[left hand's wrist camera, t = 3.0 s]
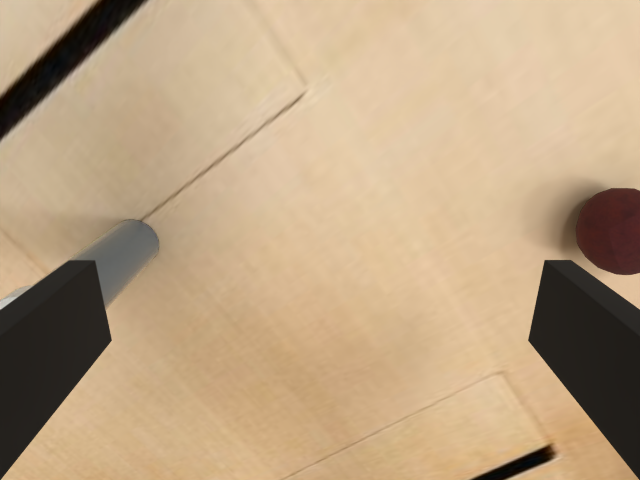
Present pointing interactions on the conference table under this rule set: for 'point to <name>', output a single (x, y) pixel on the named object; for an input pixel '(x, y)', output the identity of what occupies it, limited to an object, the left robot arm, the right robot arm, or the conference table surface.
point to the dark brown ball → (611, 230)
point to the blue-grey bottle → (119, 256)
